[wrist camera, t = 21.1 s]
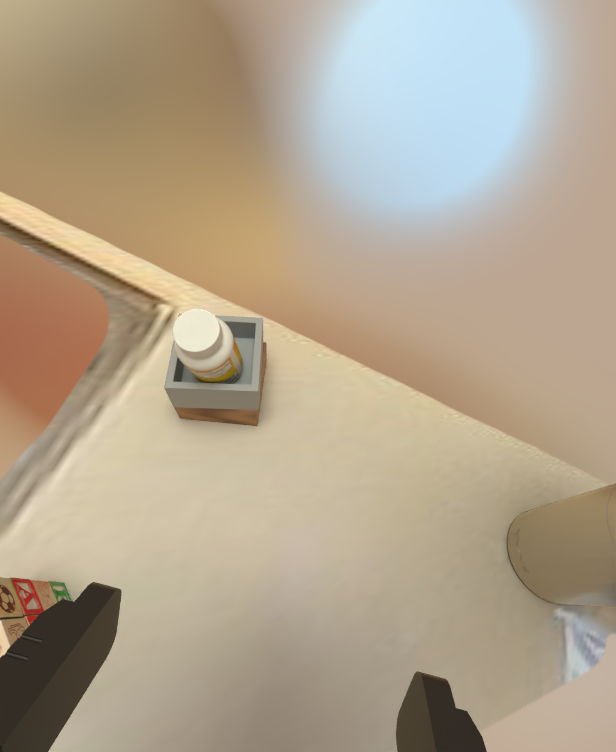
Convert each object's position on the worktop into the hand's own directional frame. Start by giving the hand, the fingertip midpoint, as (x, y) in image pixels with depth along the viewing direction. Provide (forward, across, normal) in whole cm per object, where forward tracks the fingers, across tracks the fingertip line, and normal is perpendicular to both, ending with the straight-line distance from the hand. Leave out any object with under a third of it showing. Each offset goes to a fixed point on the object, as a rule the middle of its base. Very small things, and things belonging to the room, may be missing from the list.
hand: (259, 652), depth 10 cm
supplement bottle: (+32, +11, +2) cm, 34 cm away
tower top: (+34, +11, +4) cm, 36 cm away
